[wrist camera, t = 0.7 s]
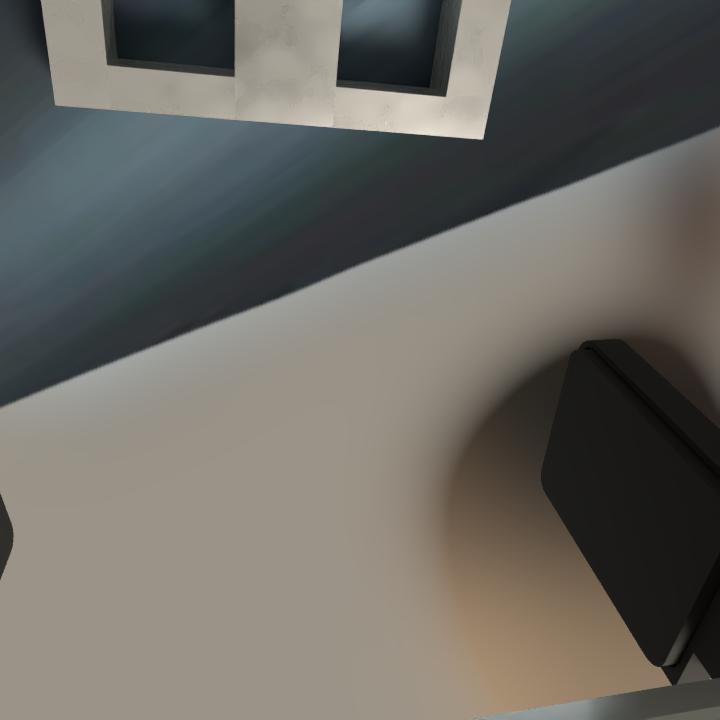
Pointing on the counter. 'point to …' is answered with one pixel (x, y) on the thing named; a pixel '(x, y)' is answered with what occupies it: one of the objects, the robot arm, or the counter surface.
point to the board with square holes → (282, 70)
